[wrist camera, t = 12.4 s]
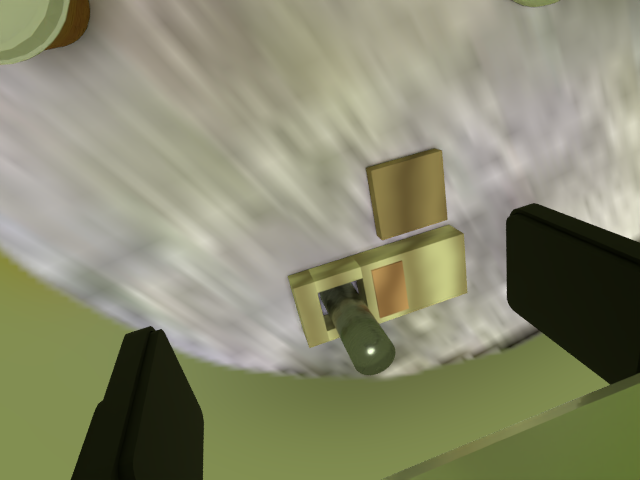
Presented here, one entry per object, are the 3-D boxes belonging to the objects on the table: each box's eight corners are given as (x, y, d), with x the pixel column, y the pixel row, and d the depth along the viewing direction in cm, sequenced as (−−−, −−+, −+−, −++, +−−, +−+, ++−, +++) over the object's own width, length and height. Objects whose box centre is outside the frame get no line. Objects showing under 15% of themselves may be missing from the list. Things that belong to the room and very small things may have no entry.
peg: (349, 272, 46) (392, 332, 35) (355, 300, 47) (397, 366, 36) (316, 282, 45) (350, 347, 34) (323, 310, 47) (357, 380, 36)
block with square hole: (449, 224, 47) (464, 234, 44) (453, 281, 50) (468, 293, 47) (287, 276, 44) (293, 290, 41) (303, 332, 47) (310, 349, 44)
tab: (434, 148, 42) (441, 150, 41) (440, 215, 46) (447, 219, 44) (365, 167, 41) (371, 170, 40) (377, 235, 45) (382, 240, 43)
